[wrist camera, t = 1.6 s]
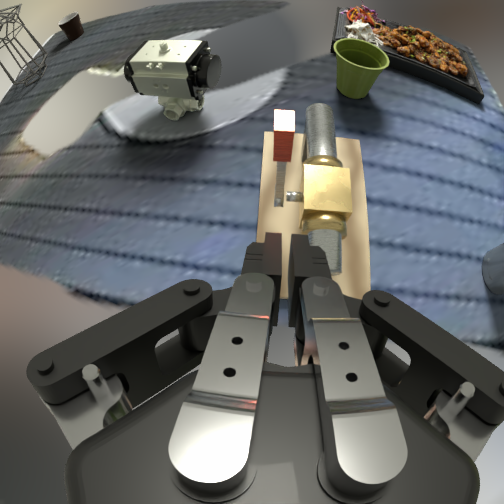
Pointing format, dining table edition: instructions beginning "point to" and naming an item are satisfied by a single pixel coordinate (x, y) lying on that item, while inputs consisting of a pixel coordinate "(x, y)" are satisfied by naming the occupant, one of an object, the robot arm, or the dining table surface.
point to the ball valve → (174, 73)
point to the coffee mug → (71, 26)
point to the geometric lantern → (21, 46)
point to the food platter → (411, 50)
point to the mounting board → (287, 217)
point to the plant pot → (358, 66)
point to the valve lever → (282, 150)
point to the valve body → (323, 187)
